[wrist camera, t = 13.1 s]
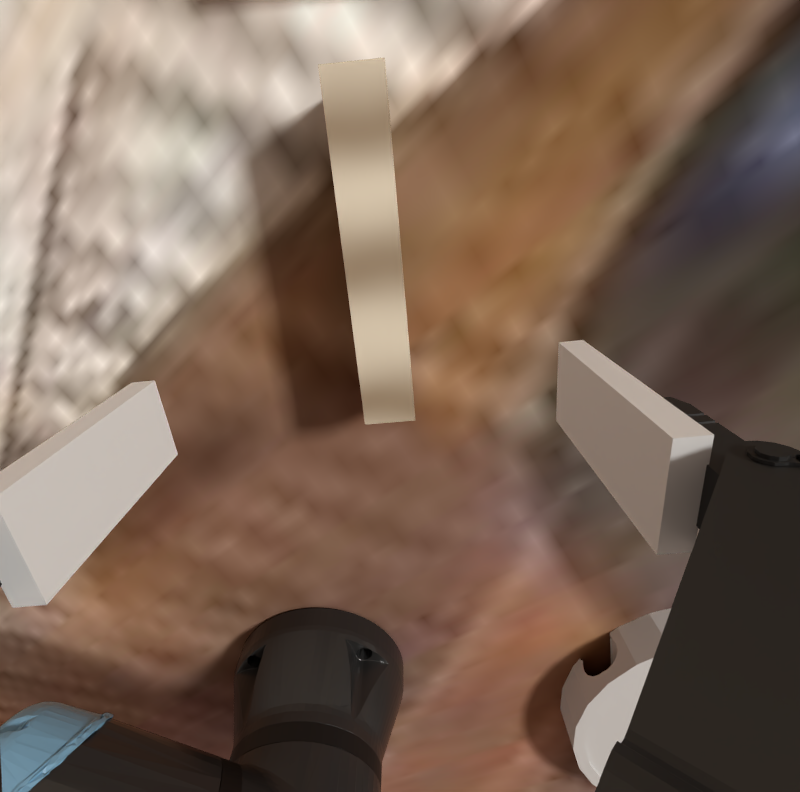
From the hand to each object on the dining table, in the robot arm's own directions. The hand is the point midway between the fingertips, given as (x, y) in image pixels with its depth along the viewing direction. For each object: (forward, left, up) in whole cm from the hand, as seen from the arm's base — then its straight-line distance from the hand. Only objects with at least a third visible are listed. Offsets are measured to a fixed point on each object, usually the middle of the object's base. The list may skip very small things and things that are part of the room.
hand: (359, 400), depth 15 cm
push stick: (+3, 0, -17) cm, 17 cm away
